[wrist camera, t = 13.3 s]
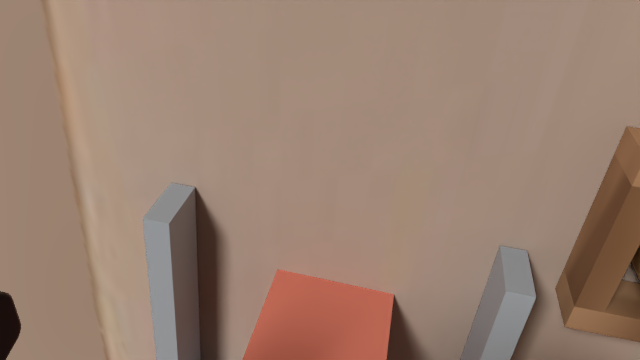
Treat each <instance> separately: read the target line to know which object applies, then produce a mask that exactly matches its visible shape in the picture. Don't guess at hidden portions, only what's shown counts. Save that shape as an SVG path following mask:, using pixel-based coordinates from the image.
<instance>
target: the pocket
mask: <svg viewBox="0 0 640 360" xmlns="http://www.w3.org/2000/svg"><path fill="white" fill-rule="evenodd" d="M143 226H144V236H145V247H146V257H147V267H148V277H149V288H150V298H151V308H152V319H153V329H154V339H155V349H156V360H201V355H200V324H199V294H198V263H197V232H196V202H195V187H191V186H186V185H180V184H175V183H171V184H170V185H169V186H168V187H167V189H166V190H165V191H164V193H163V194H162V195H161V196H160V198H159V199H158V200H157V201H156V203H155V204H154V205H153V206H152V208H151V209H150V210H149V211H148V213H147V214H146V215H145V216H144V218H143ZM535 299H536V293H535V288H534V283H533V278H532V273H531V268H530V263H529V257H528V252H527V251H525V250H520V249H515V248H510V247H505V246H500V247H499V250H498V253H497V256H496V259H495V262H494V264H493V267H492V270H491V273H490V276H489V279H488V282H487V285H486V287H485V290H484V293H483V296H482V299H481V302H480V305H479V308H478V311H477V313H476V316H475V319H474V322H473V325H472V328H471V331H470V334H469V336H468V339H467V342H466V345H465V348H464V351H463V354H462V357H461V360H510V359H511V356H512V354H513V352H514V349H515V347H516V344H517V342H518V340H519V337H520V335H521V333H522V330H523V328H524V325H525V323H526V321H527V318H528V316H529V313H530V311H531V309H532V306H533V304H534V302H535Z"/></svg>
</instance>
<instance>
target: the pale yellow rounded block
mask: <svg viewBox="0 0 640 360" xmlns="http://www.w3.org/2000/svg"><path fill="white" fill-rule="evenodd" d="M632 264H633V267H634V269H635V271H636V274H637V276H638V278H639V281H640V245H639V247H638V249H637V251H636V253H635V255H634V257H633V259H632Z"/></svg>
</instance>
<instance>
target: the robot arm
mask: <svg viewBox="0 0 640 360" xmlns="http://www.w3.org/2000/svg"><path fill="white" fill-rule="evenodd" d="M20 330H21V323H20V319H19V316H18V314H17V311H16V308H15V305H14V302H13V299H12V297H11V295H9V294H8V293H5V292H1V291H0V360H6V358H7V356H8V355H9V353H10V351H11V349H12V347H13V346H14V344H15V342H16V340H17V339H18V336H19V333H20Z"/></svg>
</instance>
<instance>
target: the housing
mask: <svg viewBox="0 0 640 360" xmlns="http://www.w3.org/2000/svg"><path fill="white" fill-rule="evenodd" d="M639 245H640V129H639V128H633V127H626V129H625V132H624V134H623V136H622V138H621V141H620V143H619V145H618V147H617V150H616V152H615V154H614V157H613V159H612V161H611V163H610V166H609V168H608V170H607V172H606V175H605V177H604V179H603V181H602V184H601V186H600V188H599V191H598V193H597V195H596V197H595V200H594V202H593V204H592V206H591V209H590V211H589V213H588V216H587V218H586V220H585V222H584V225H583V227H582V229H581V231H580V234H579V236H578V238H577V241H576V243H575V245H574V247H573V250H572V252H571V254H570V256H569V259H568V261H567V263H566V266H565V268H564V270H563V272H562V275H561V277H560V279H559V281H558V284H557V286H556V288H555V289H556V293H557V297H558V301H559V305H560V309H561V313H562V318H563V322H564V326H565V327H568V328H573V329H578V330H583V331H588V332H593V333H598V334H603V335H607V336H612V337H617V338H622V339H627V340H632V341H637V342H640V283H634V282H629V281H624V280H622V278H623V276H624V274H625V272H626V270H627V268H628V266H629V264H630V262H631V261H632V259H633V257H634V255H635V253H636V251H637V249H638V247H639Z"/></svg>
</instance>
